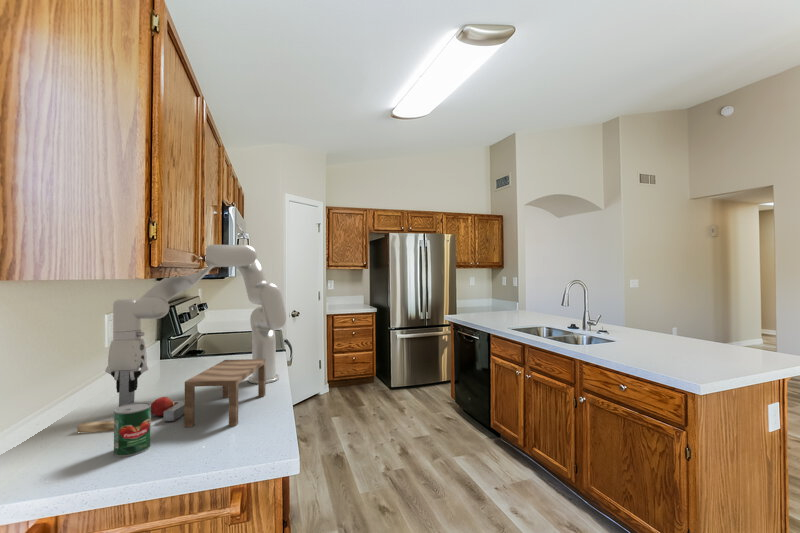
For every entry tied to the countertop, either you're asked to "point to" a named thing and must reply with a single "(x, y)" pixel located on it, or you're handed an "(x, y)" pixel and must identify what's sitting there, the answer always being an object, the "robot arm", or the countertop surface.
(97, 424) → the wooden bar
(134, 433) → the canned tomato
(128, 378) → the grey angled piece
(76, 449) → the countertop surface
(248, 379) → the robot arm
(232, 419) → the shelf
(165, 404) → the onion
